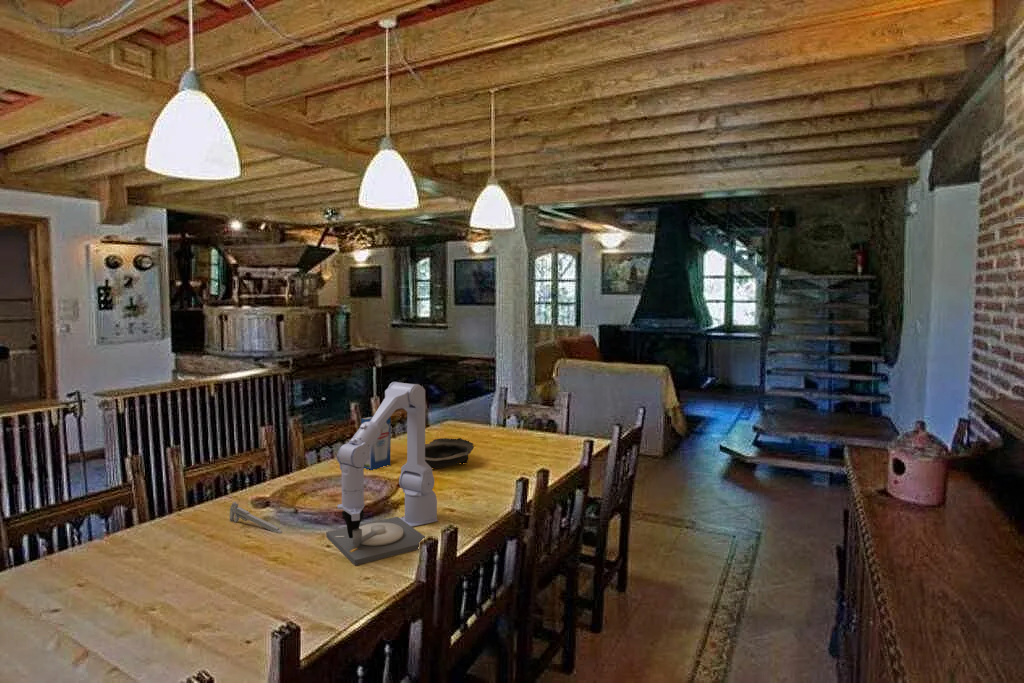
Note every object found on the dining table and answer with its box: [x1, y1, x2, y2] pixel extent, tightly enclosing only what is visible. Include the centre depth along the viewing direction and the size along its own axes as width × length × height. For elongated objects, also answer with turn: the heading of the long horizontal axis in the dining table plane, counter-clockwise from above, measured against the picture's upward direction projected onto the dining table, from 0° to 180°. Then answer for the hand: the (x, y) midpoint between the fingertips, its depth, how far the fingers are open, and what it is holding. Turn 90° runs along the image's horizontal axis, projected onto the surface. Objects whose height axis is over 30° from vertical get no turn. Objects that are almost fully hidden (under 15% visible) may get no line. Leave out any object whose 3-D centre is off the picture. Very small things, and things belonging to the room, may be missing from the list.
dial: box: [353, 523, 403, 546], centre depth 168 cm, size 17×14×5 cm
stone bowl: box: [425, 437, 475, 469], centre depth 246 cm, size 25×25×9 cm
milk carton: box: [360, 415, 392, 471], centre depth 242 cm, size 10×6×20 cm, turn 143°
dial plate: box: [325, 516, 426, 567], centre depth 169 cm, size 22×22×2 cm
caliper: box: [229, 501, 283, 534], centre depth 178 cm, size 20×1×6 cm, turn 65°
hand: (353, 537), depth 162 cm, fingers closed
